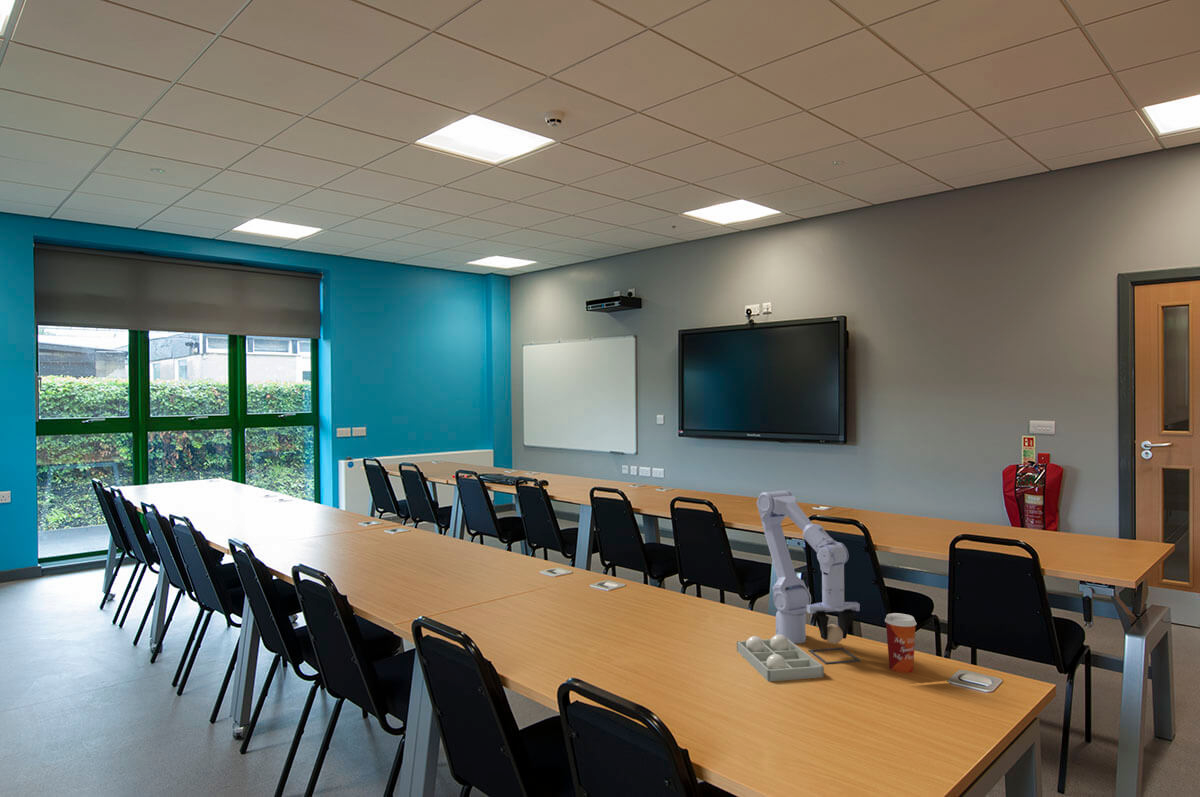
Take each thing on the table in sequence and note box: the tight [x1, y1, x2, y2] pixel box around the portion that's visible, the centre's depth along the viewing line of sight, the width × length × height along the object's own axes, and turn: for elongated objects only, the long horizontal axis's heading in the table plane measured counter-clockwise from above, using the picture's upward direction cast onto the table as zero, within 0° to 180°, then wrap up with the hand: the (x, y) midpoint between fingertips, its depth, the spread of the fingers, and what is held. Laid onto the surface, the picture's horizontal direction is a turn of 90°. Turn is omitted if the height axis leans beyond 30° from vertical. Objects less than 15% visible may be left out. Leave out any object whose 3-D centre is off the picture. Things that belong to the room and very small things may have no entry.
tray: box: [736, 638, 825, 682], centre depth 185 cm, size 22×15×3 cm
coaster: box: [808, 647, 862, 665], centre depth 190 cm, size 10×10×1 cm
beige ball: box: [826, 623, 843, 645], centre depth 190 cm, size 5×5×5 cm
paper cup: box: [884, 612, 918, 674], centre depth 181 cm, size 8×8×14 cm
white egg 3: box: [766, 654, 786, 670], centre depth 178 cm, size 5×5×5 cm
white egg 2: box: [770, 634, 789, 651], centre depth 193 cm, size 5×5×5 cm
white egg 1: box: [745, 635, 764, 653], centre depth 192 cm, size 5×5×5 cm
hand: (833, 638), depth 190 cm, fingers closed on beige ball, 5 cm apart
